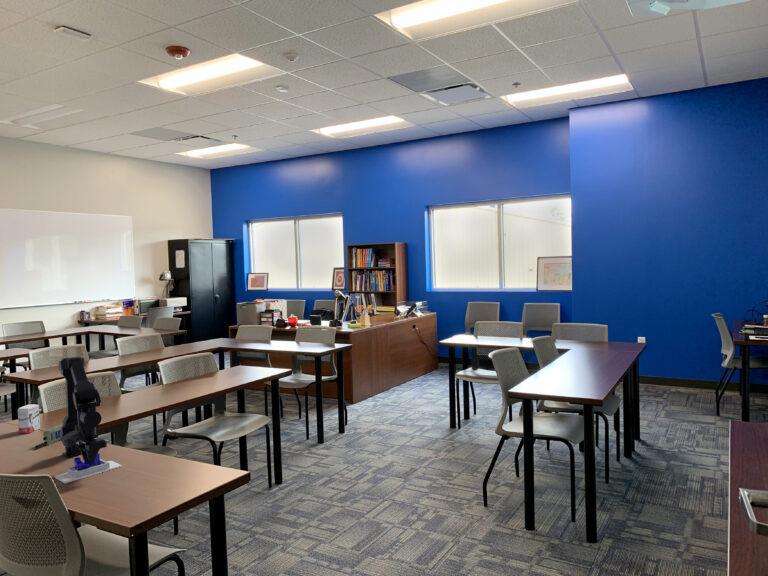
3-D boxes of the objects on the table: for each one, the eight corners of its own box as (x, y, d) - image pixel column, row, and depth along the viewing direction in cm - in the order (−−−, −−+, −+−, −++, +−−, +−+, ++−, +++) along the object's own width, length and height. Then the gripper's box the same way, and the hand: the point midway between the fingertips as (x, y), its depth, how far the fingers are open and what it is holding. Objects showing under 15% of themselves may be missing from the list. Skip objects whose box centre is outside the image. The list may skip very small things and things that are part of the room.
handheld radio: (81, 432, 260) (40, 450, 235) (74, 432, 261) (33, 450, 236) (79, 418, 260) (38, 434, 235) (73, 418, 260) (31, 434, 236)
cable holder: (78, 471, 203) (77, 460, 203) (74, 469, 206) (74, 458, 205) (101, 465, 209) (101, 454, 209) (97, 463, 211) (97, 452, 211)
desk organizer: (54, 477, 203) (54, 470, 203) (111, 462, 218) (110, 455, 218) (64, 483, 197) (64, 476, 197) (121, 466, 212) (121, 460, 212)
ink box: (28, 433, 259) (27, 408, 259) (18, 434, 259) (17, 408, 259) (40, 428, 268) (39, 403, 268) (30, 428, 268) (29, 403, 268)
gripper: (52, 422, 207) (54, 464, 207) (73, 431, 194) (75, 476, 195) (84, 415, 215) (86, 456, 216) (106, 424, 203) (108, 466, 204)
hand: (88, 463), depth 207 cm, fingers closed on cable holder, 3 cm apart
